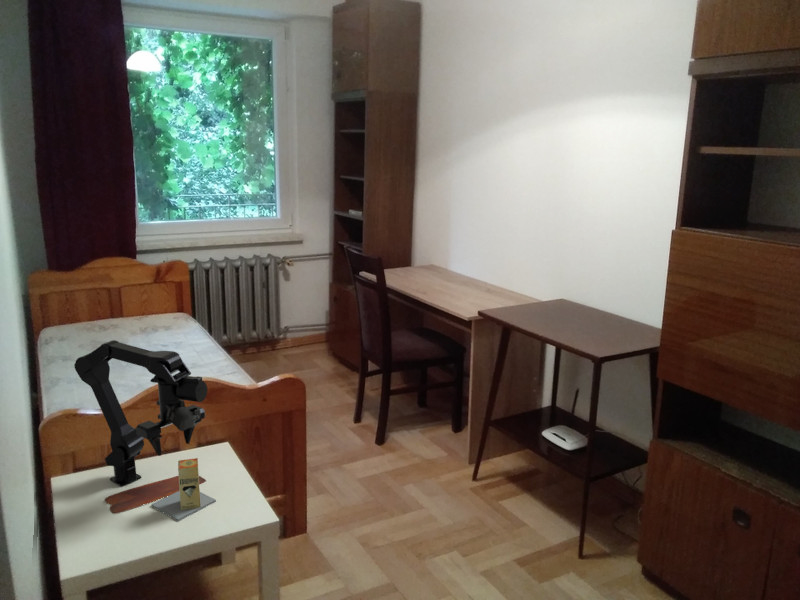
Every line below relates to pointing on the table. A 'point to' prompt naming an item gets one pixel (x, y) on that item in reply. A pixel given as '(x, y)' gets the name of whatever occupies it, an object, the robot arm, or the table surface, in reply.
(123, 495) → the wooden tablet
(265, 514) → the table surface
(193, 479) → the shoe polish box
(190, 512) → the slate mat
